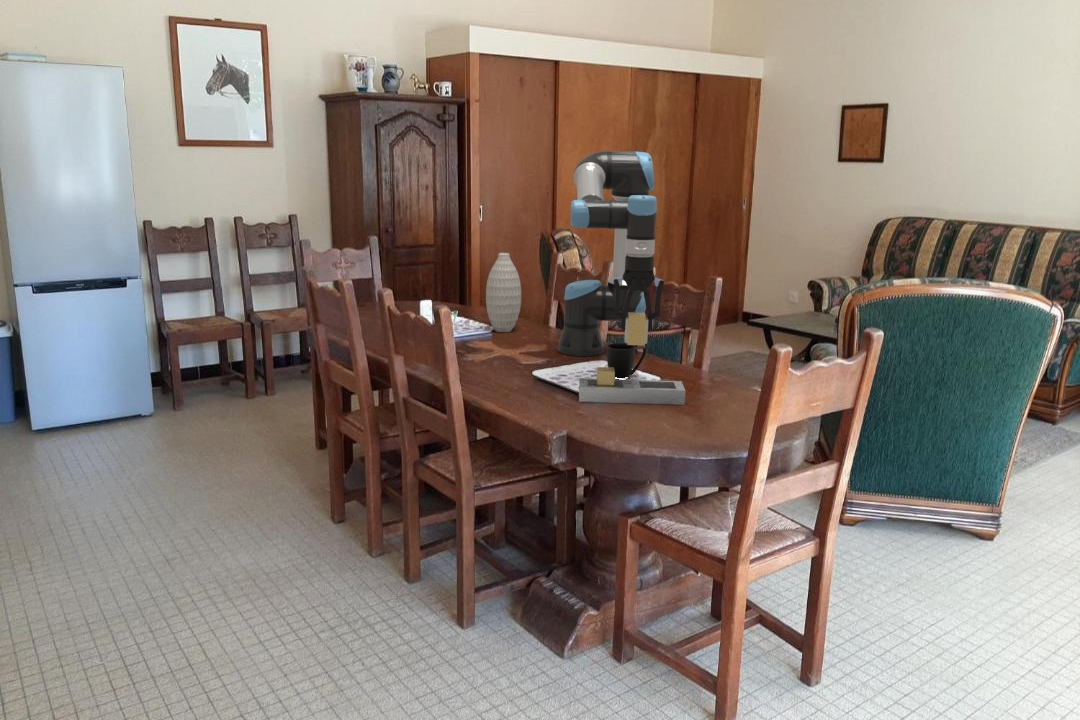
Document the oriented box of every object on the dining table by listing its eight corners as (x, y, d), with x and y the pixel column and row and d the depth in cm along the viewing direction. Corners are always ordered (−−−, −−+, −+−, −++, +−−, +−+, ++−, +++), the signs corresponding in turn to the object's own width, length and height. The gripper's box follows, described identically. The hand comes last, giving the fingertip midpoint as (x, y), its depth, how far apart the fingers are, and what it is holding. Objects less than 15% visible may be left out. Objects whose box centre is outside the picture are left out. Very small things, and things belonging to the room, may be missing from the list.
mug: (650, 379, 252) (651, 348, 249) (611, 381, 248) (612, 350, 246) (639, 372, 259) (640, 341, 257) (601, 374, 256) (603, 343, 254)
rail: (578, 392, 237) (579, 378, 236) (680, 395, 236) (681, 381, 236) (579, 401, 229) (579, 387, 228) (684, 404, 228) (685, 390, 227)
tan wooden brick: (596, 395, 235) (597, 367, 233) (612, 395, 235) (613, 367, 233) (596, 400, 231) (597, 371, 229) (613, 400, 231) (614, 371, 229)
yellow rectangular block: (626, 341, 233) (628, 312, 231) (643, 341, 233) (644, 312, 231) (627, 344, 228) (628, 315, 227) (644, 345, 228) (645, 315, 226)
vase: (506, 325, 322) (507, 250, 315) (527, 331, 312) (529, 254, 306) (478, 329, 314) (479, 252, 307) (499, 335, 305) (500, 256, 298)
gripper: (606, 255, 222) (603, 344, 227) (674, 257, 221) (669, 346, 226) (606, 252, 229) (602, 338, 235) (672, 254, 228) (667, 340, 234)
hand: (635, 341), depth 231 cm, fingers closed on yellow rectangular block, 4 cm apart
